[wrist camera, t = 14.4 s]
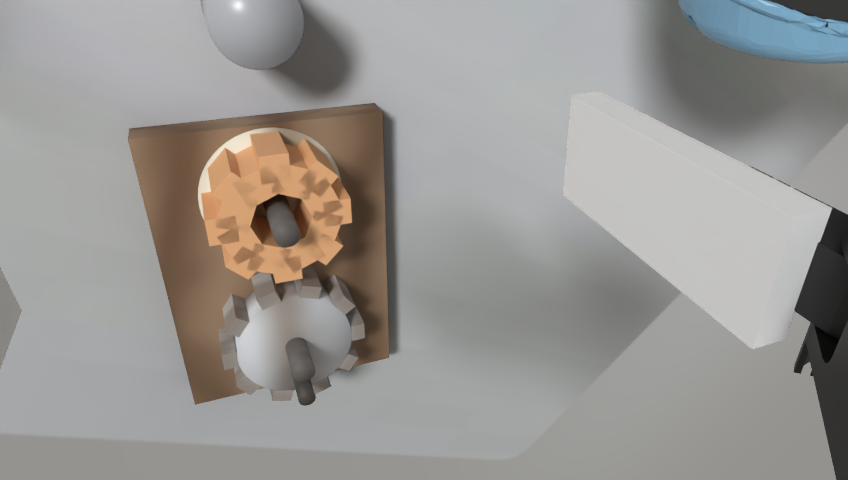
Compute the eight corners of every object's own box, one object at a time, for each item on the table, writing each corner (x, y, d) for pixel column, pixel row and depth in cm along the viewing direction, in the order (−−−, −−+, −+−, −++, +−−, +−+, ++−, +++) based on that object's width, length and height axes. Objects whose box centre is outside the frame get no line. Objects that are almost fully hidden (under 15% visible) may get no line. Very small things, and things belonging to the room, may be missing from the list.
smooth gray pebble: (281, -42, 36) (299, -31, 31) (289, 43, 39) (307, 65, 34) (193, -40, 35) (198, -28, 30) (208, 49, 37) (215, 73, 32)
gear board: (374, 103, 43) (411, 141, 36) (382, 343, 54) (412, 405, 47) (129, 128, 38) (122, 178, 31) (194, 387, 49) (198, 463, 42)
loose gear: (332, 124, 40) (347, 145, 37) (340, 240, 45) (354, 268, 42) (190, 140, 37) (193, 164, 34) (214, 263, 42) (219, 294, 39)
